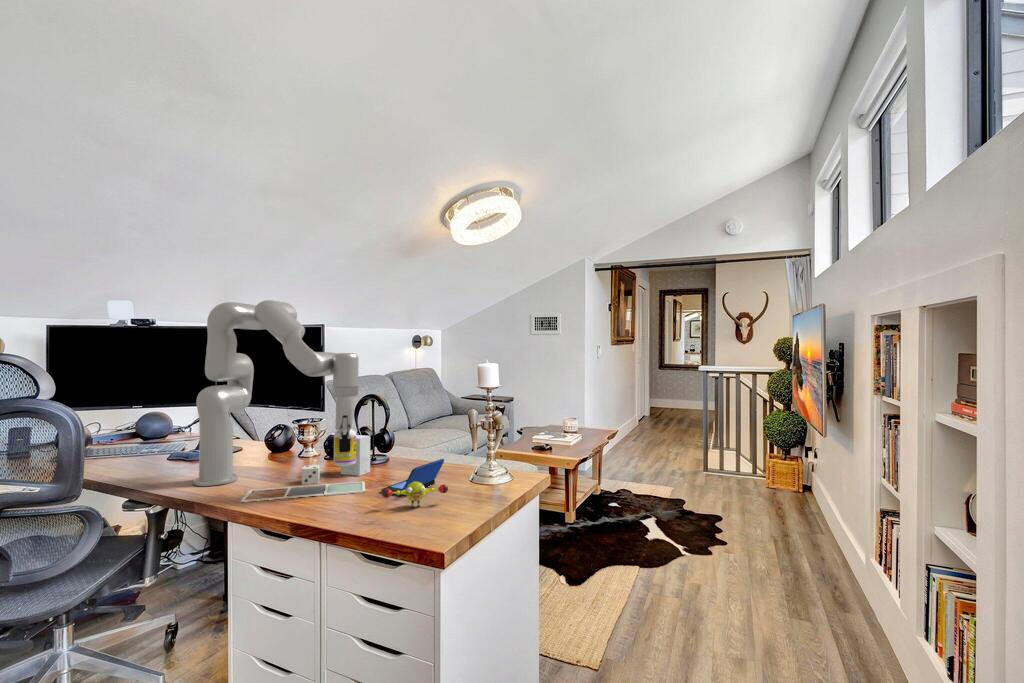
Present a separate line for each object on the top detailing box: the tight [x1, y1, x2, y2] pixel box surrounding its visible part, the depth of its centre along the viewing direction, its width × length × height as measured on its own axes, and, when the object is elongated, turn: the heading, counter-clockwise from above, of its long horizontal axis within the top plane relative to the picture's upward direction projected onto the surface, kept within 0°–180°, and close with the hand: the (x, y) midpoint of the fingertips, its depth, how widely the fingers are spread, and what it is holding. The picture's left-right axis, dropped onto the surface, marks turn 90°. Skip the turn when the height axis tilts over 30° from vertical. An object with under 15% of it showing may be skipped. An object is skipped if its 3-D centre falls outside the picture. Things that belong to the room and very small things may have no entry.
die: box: [301, 464, 321, 485], centre depth 161 cm, size 5×5×5 cm
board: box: [240, 481, 366, 503], centre depth 149 cm, size 12×34×1 cm, turn 107°
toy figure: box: [381, 482, 449, 508], centre depth 135 cm, size 18×6×7 cm, turn 106°
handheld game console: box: [381, 458, 445, 497], centre depth 152 cm, size 16×13×9 cm
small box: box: [340, 434, 371, 477], centre depth 173 cm, size 8×6×13 cm
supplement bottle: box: [333, 424, 357, 467], centre depth 153 cm, size 7×7×13 cm
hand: (345, 449), depth 153 cm, fingers closed on supplement bottle, 6 cm apart
